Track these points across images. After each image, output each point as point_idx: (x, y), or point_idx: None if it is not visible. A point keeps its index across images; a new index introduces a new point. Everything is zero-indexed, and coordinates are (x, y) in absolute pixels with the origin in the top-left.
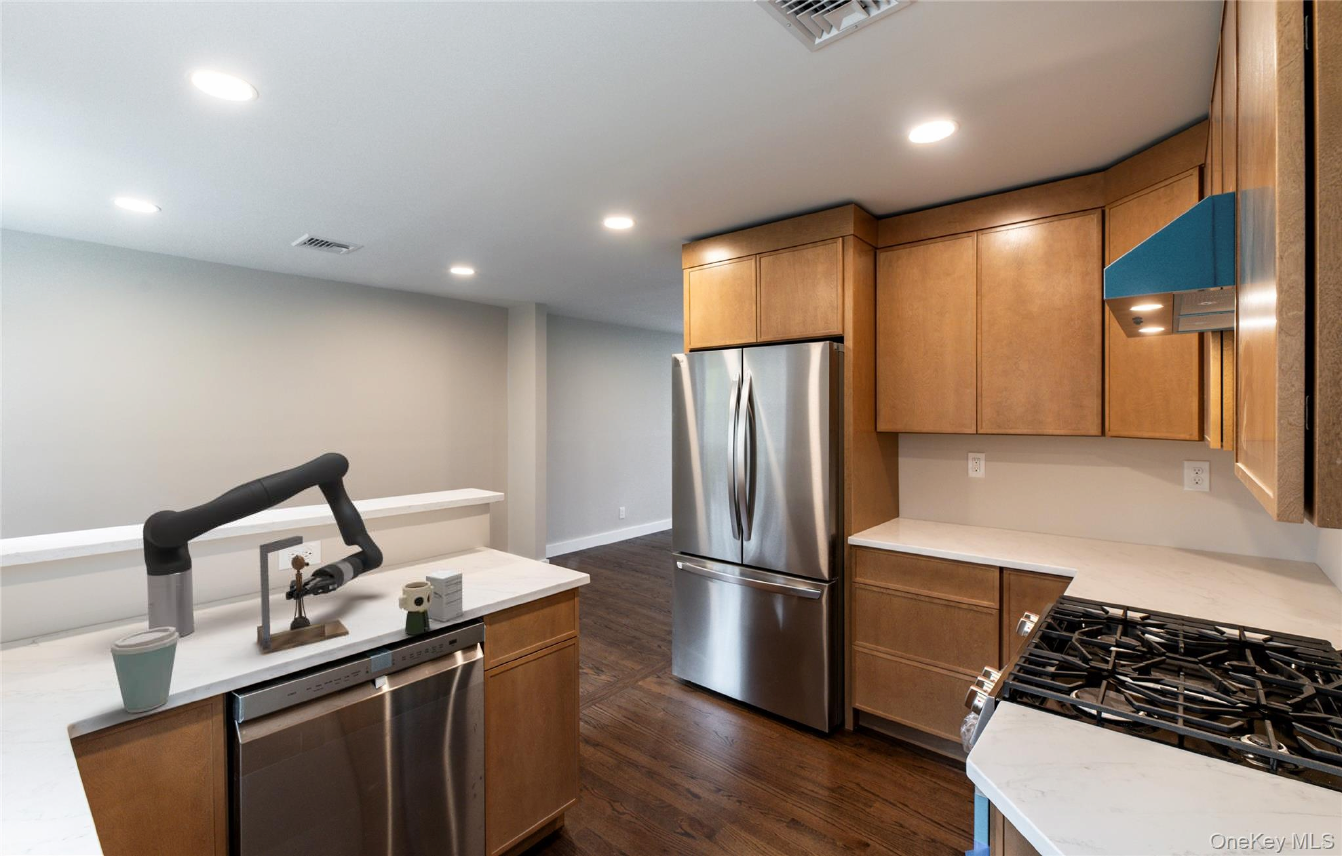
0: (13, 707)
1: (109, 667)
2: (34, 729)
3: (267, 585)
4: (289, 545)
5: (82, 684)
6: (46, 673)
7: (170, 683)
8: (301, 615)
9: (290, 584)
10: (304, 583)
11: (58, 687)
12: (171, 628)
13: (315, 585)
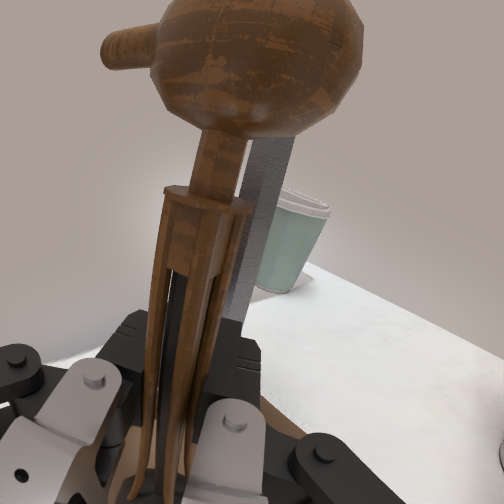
0: (405, 310)
1: (445, 368)
2: (334, 279)
3: (250, 168)
4: None
5: (411, 336)
6: (477, 357)
7: (260, 267)
8: (155, 488)
9: (381, 486)
10: (183, 495)
11: (424, 333)
12: (281, 188)
13: (15, 357)
